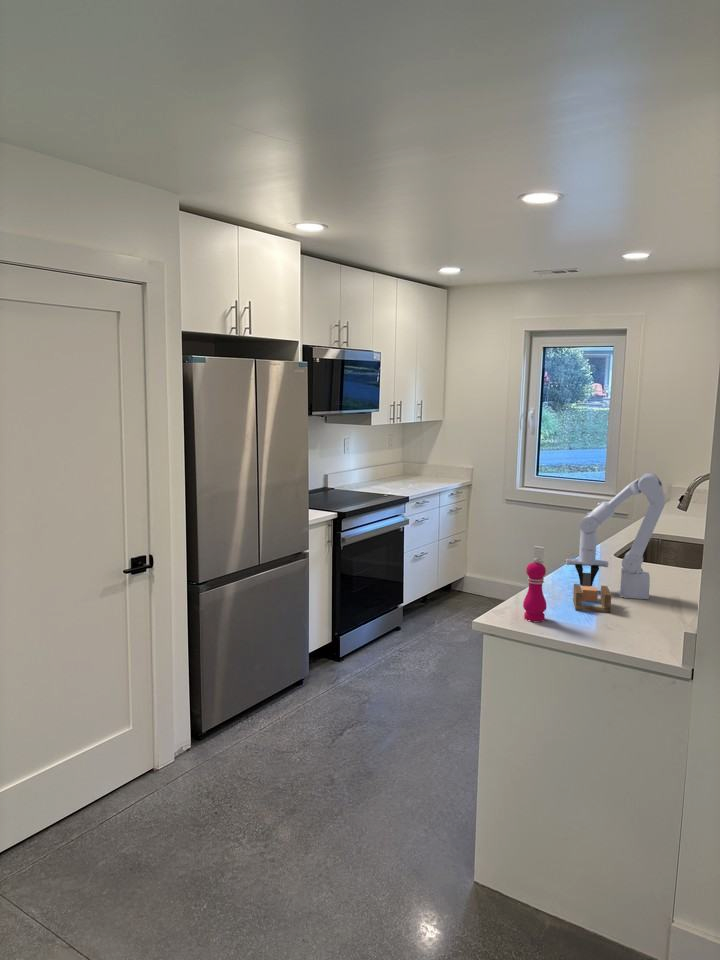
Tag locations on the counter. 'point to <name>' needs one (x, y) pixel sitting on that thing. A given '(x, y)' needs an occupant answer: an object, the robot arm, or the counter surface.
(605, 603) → the brown wooden u-shaped piece
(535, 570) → the pepper mill
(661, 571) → the counter surface
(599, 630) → the counter surface
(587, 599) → the grey and tan dumbbell
